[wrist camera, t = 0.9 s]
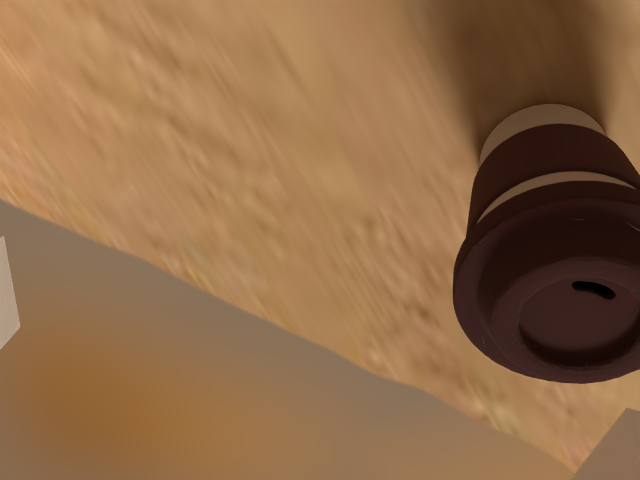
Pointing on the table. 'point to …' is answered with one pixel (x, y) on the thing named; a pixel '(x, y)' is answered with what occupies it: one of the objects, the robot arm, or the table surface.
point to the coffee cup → (553, 250)
